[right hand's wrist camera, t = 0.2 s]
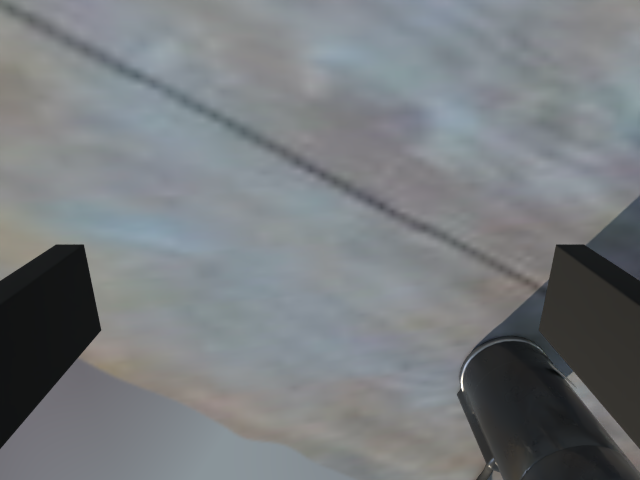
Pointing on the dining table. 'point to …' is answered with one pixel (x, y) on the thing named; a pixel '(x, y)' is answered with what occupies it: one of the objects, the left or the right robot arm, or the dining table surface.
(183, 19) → the dining table surface
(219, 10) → the dining table surface
